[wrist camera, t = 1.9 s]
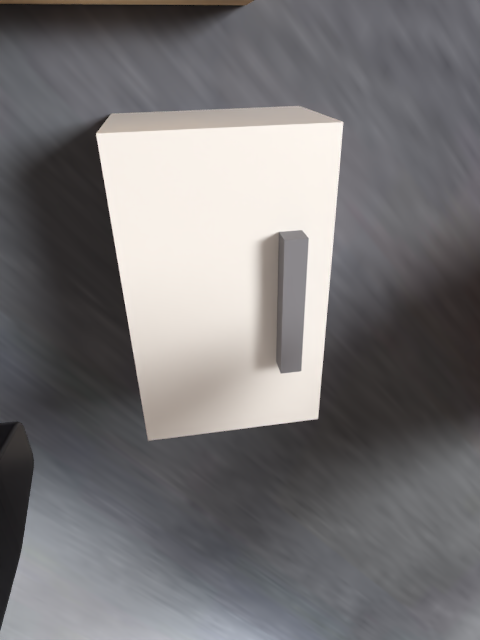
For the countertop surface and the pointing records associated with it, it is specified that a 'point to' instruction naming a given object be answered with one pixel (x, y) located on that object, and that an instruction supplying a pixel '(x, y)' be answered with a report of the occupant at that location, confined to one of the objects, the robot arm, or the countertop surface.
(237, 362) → the door
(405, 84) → the countertop surface
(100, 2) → the wooden board
